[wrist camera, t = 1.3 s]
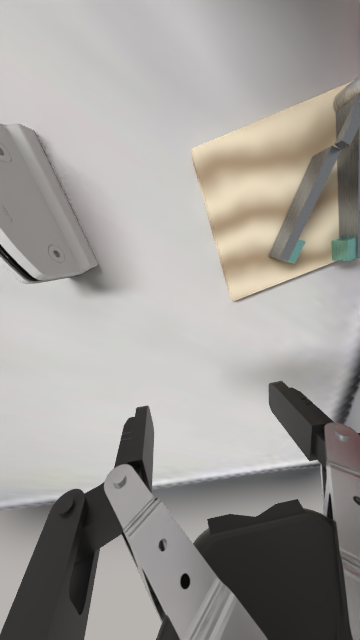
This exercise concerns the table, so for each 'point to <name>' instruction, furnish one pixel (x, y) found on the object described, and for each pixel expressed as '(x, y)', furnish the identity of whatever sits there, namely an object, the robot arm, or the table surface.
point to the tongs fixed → (347, 180)
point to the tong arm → (312, 191)
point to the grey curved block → (36, 214)
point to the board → (268, 193)
